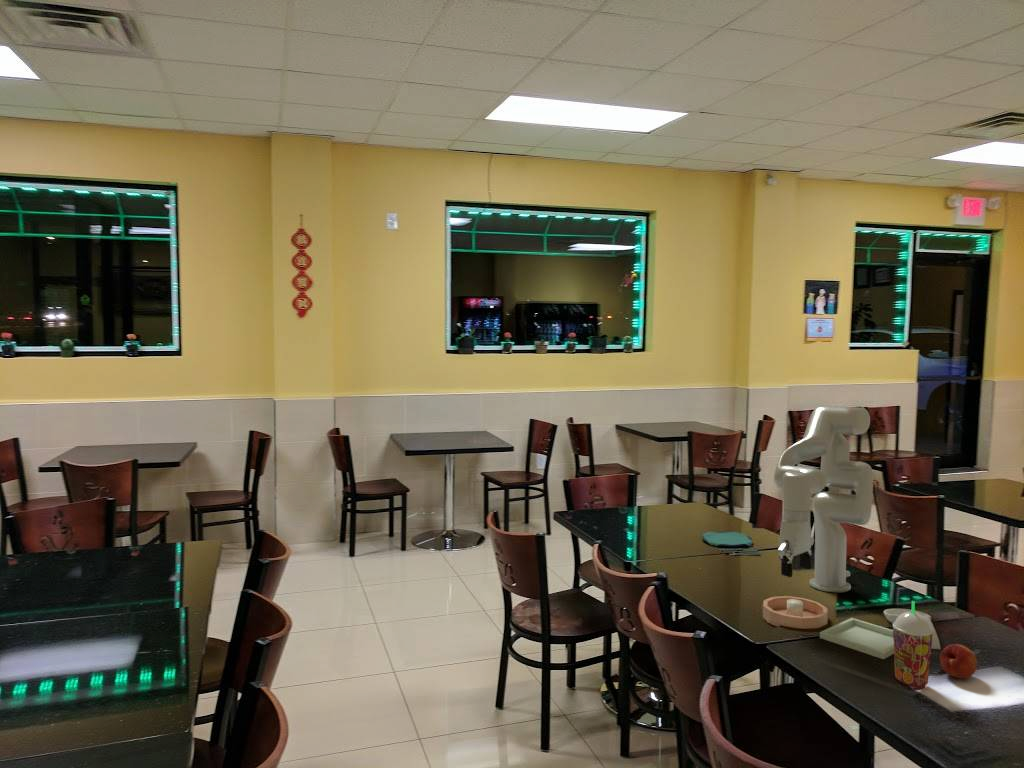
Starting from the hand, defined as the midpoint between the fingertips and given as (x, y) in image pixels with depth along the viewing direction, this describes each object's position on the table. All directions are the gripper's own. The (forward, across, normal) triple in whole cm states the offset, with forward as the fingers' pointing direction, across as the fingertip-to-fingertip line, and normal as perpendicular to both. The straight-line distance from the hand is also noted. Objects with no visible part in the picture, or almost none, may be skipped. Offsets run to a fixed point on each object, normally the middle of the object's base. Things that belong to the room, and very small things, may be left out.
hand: (796, 571), depth 209 cm
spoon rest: (+15, -15, +27) cm, 34 cm away
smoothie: (+13, +16, +39) cm, 45 cm away
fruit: (+14, +3, +44) cm, 47 cm away
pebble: (+13, +1, 0) cm, 13 cm away
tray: (+14, +1, +21) cm, 25 cm away
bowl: (+14, +1, 0) cm, 14 cm away
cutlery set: (+17, -51, -60) cm, 80 cm away
